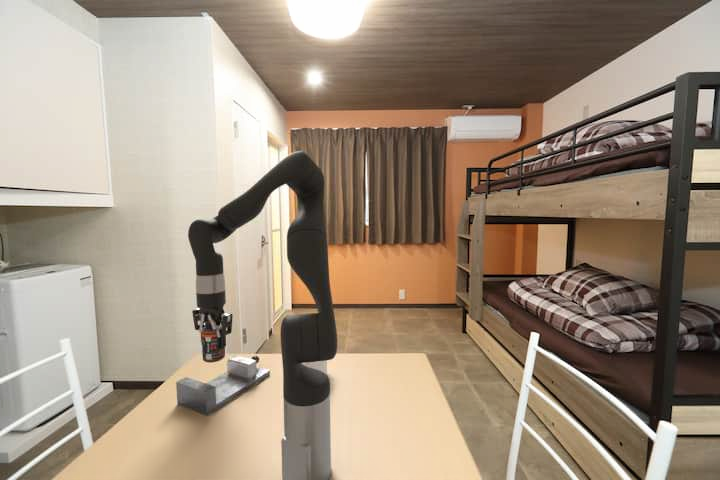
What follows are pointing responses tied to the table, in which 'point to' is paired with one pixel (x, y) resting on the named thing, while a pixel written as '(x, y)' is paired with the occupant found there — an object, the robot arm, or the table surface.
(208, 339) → the supplement bottle
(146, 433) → the table surface
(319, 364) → the cylinder with rectangular tab
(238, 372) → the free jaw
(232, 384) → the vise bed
